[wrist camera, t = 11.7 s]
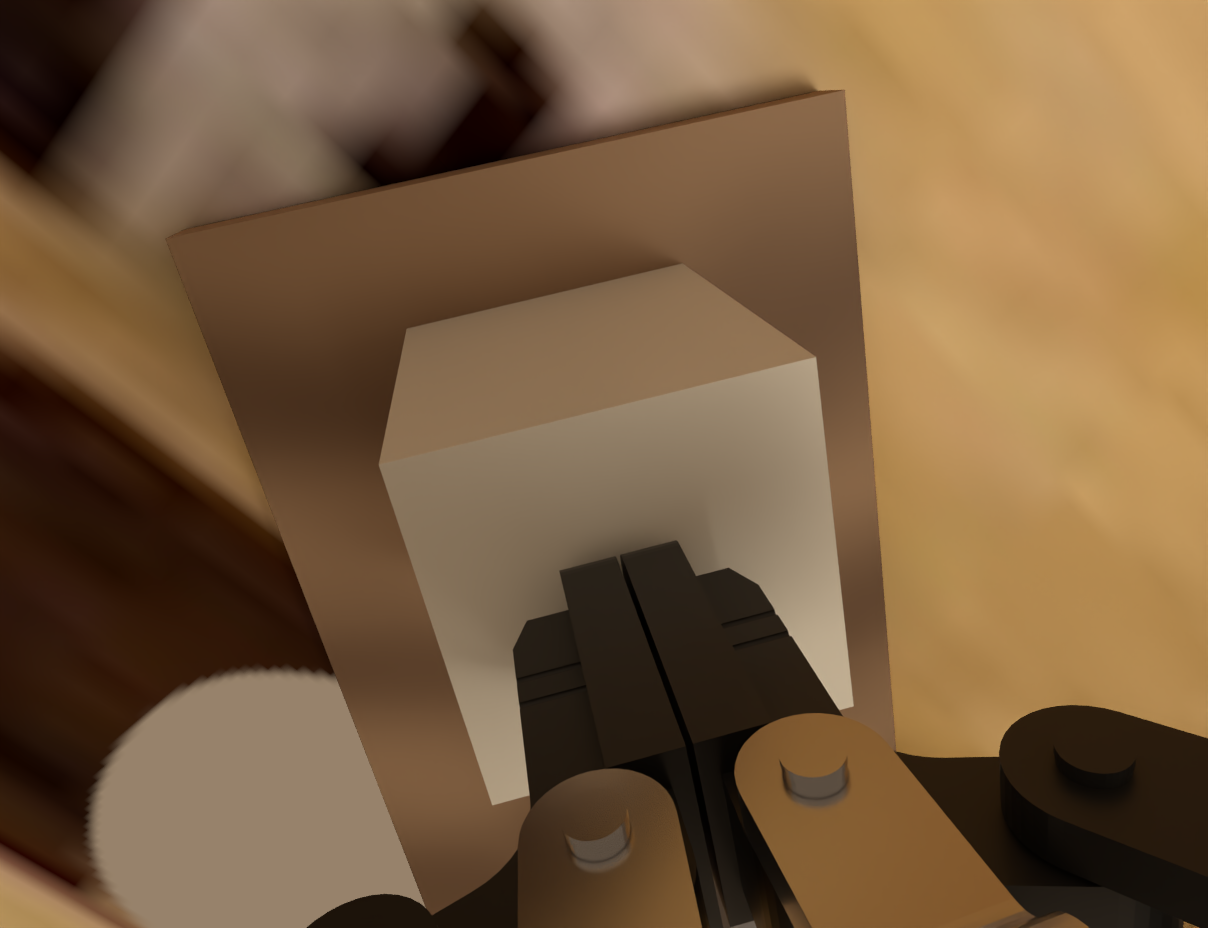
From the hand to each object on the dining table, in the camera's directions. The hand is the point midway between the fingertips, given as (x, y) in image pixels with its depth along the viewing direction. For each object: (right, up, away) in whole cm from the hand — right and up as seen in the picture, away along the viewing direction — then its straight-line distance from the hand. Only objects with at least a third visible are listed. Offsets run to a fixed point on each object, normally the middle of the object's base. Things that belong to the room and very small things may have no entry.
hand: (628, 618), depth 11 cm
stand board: (0, -1, +9) cm, 9 cm away
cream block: (-1, +3, +6) cm, 7 cm away
